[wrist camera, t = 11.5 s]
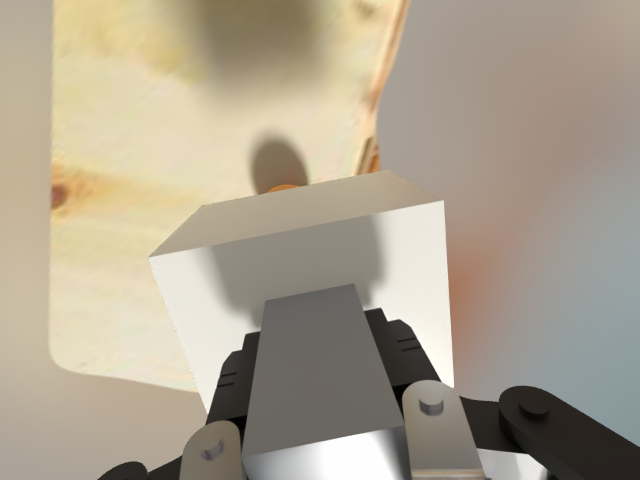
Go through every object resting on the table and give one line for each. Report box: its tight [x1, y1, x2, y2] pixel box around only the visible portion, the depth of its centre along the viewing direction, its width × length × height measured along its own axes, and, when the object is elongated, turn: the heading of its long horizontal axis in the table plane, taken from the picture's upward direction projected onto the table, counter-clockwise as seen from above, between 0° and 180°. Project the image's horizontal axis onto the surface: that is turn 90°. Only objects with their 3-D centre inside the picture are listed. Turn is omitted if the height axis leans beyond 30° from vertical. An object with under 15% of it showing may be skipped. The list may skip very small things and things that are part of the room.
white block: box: [148, 170, 454, 480], centre depth 13 cm, size 8×10×13 cm
